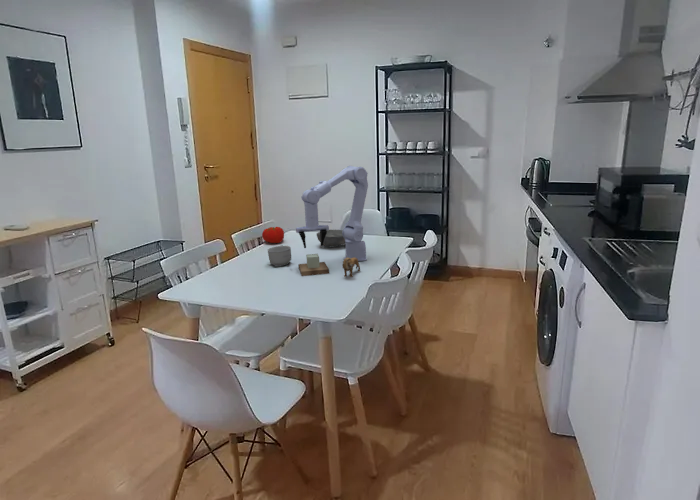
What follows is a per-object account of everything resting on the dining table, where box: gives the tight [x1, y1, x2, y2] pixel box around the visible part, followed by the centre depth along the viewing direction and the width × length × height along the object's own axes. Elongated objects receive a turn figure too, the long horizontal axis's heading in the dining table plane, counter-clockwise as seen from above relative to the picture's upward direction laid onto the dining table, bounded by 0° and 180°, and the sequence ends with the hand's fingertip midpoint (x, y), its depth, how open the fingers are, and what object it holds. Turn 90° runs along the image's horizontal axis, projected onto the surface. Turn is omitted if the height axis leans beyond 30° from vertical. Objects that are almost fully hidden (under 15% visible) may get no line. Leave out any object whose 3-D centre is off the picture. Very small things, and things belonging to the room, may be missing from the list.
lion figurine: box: [342, 257, 361, 278], centre depth 197 cm, size 15×5×9 cm, turn 164°
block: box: [306, 253, 320, 268], centre depth 204 cm, size 5×5×5 cm
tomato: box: [261, 226, 285, 244], centre depth 258 cm, size 14×13×9 cm
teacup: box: [267, 244, 292, 267], centre depth 217 cm, size 14×11×8 cm
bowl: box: [316, 229, 345, 248], centre depth 246 cm, size 18×18×8 cm
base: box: [298, 261, 330, 277], centre depth 204 cm, size 12×12×2 cm
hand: (313, 246), depth 207 cm, fingers open, 7 cm apart
